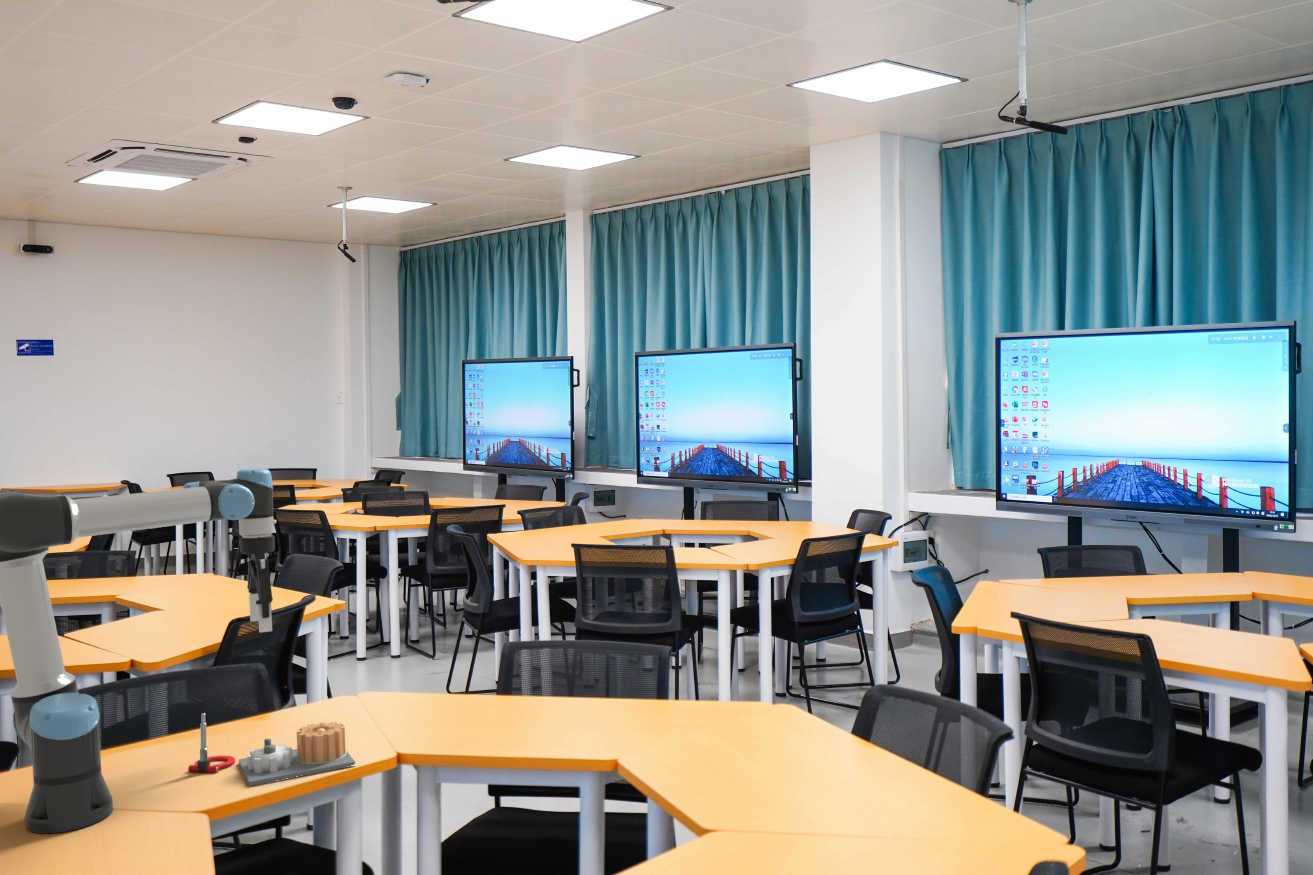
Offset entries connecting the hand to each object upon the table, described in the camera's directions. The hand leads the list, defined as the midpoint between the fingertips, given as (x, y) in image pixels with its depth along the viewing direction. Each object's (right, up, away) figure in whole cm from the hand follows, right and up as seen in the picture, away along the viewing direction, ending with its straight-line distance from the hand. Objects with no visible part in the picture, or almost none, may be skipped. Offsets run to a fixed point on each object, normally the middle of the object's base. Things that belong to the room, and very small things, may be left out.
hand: (261, 626), depth 243 cm
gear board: (+12, -29, -11) cm, 33 cm away
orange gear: (+17, -28, -8) cm, 33 cm away
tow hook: (-7, -30, -10) cm, 32 cm away
